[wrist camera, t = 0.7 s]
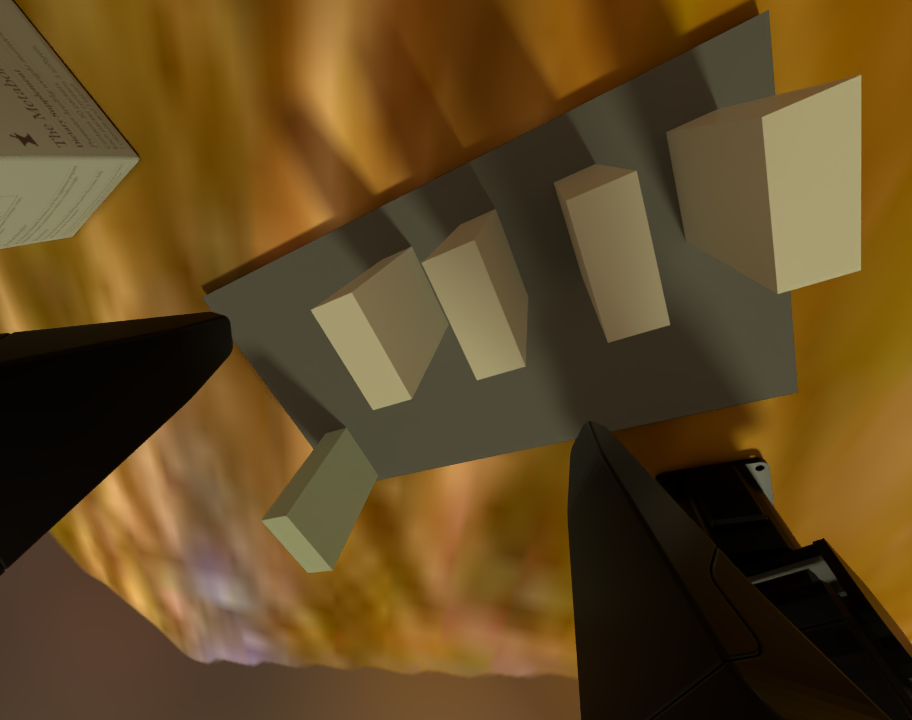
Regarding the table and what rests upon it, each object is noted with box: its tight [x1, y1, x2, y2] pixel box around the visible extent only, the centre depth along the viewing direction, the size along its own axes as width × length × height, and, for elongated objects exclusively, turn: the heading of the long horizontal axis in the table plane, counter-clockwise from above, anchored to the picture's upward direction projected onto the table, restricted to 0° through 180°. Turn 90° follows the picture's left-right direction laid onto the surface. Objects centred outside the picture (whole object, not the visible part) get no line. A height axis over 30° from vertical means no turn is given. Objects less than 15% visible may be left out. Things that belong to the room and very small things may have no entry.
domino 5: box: [666, 75, 861, 294], centre depth 14 cm, size 5×2×8 cm, turn 25°
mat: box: [202, 10, 798, 481], centre depth 23 cm, size 18×32×1 cm, turn 115°
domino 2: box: [311, 246, 449, 410], centre depth 19 cm, size 5×2×8 cm, turn 25°
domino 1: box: [261, 428, 378, 573], centre depth 26 cm, size 5×2×8 cm, turn 25°
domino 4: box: [554, 164, 670, 343], centre depth 15 cm, size 5×2×8 cm, turn 25°
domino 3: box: [422, 209, 528, 380], centre depth 17 cm, size 5×2×8 cm, turn 25°
